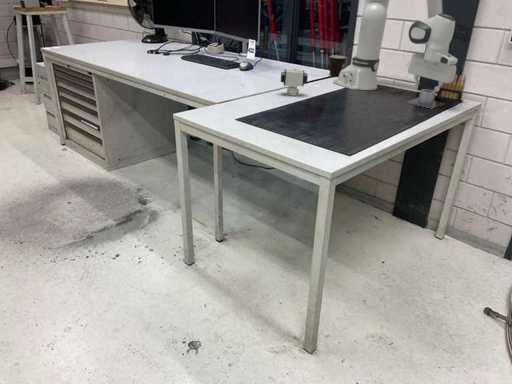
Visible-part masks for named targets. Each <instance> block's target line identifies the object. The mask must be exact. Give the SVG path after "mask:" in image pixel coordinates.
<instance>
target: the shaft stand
mask: <svg viewBox="0 0 512 384" xmlns="http://www.w3.org/2000/svg"><path fill="white" fill-rule="evenodd" d="M418 100H419V97H416V98H413V99H410V100H406V102H405V103H406V104H408V103H409V105H412V104H413V105H412V106H415V105H417V107H419V106H422V107H421V108H423V107H426V108H425V109H427V108H430V109H429V110H431V109H432V110H434V109H433V108H435V107H438V106H440V107H442V106H441V105H443V106H445V105H444V104H446V103H445V102H441V101H436V100H434V102H433V104H423V103H420V102H419V101H418ZM438 108H439V107H438ZM435 109H436V108H435Z"/></svg>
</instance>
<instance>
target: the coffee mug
mask: <svg viewBox="0 0 512 384" xmlns="http://www.w3.org/2000/svg"><path fill="white" fill-rule="evenodd" d="M346 59H347V57H346V56H344V55H335V54H334V55H330V56H329V76H330V77H333V78H338V77H339V74H340V72H341V70H343V69H344V67H345V62H346Z"/></svg>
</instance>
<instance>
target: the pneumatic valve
mask: <svg viewBox="0 0 512 384" xmlns="http://www.w3.org/2000/svg"><path fill="white" fill-rule="evenodd" d="M283 70H284V71H282V72H281V73H280V83H283V86H285V87H286V86H288V88H286V94H287V95H288V96H290V97H291V96H293V97H296V96H297V95H299V94H300V93H299V92H300V90H299V88H298V87H304V85H305V84H307V83H308V73H306V72H305V70H304V69H297V68H295V67H293V69H286V68H285V69H283Z"/></svg>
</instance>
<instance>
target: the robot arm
mask: <svg viewBox="0 0 512 384" xmlns="http://www.w3.org/2000/svg"><path fill="white" fill-rule="evenodd" d="M389 4H390V0H364V4H363V9H362V13H361V21H360V25H359V26H360V27H359V34H358V41H357V48H356V54H355V56H354V57H350V61H352V62H351V64H349V65H348V66H345V68H344V67H343V70H341V72H340V74H339V77H337V78H336V79H334V80H333V82H332V83H334V84H335V85H338V86H341V87H344V88H347V89H350V90H362V91H365V90H366V91H373V90H376V89H377V90H378V83H377V82H378V70H379V65H380V55H381V49H382V42H383V38H384V33H385V29H386V28H385V27H386V22H387V17H388V8H389ZM426 4H427V5H426V6H427V7H426V8H427V19H421V20H416V21H415V22H412V24H411V25H410V26H409V29H408V38H409V41H410V42H411V43H413V44H416V45H426V48H425V51H424V53H422V52H418V51H417V52H414V53H413V54H412V56H411V60H410V63H409V66H408V68H407V72H408V74H411V75H413V79H414V86H415V87H419V86H420V84H421V82H420V81H419V78H420V77H422V78H426V79H430V80H434V81H437V82H438V85H437V86H435V87H434V88H433V91H435V92H436V93H438V91H439V89H440V87H441V86H442V85H443V84H444V83H451V82H452V83H453V81H454V78H455V76H456V75H457V65H456V64H457V63H458V58H457V57H455V56H454V55H452V54H450V53H449V48H450V44H451V41H452V40H453V35H454V33H455V32H454V31H455V27H456V19H455V18H454V17H453V16H451V15H449V14H445V13H444V0H426ZM443 86H444V85H443Z"/></svg>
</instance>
